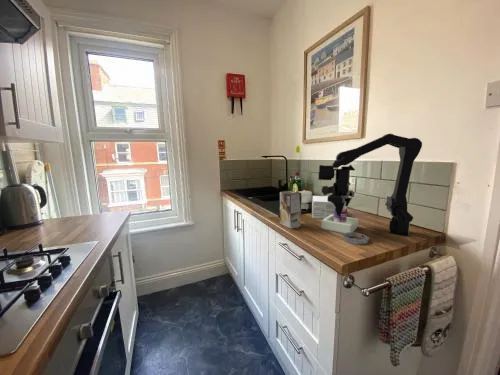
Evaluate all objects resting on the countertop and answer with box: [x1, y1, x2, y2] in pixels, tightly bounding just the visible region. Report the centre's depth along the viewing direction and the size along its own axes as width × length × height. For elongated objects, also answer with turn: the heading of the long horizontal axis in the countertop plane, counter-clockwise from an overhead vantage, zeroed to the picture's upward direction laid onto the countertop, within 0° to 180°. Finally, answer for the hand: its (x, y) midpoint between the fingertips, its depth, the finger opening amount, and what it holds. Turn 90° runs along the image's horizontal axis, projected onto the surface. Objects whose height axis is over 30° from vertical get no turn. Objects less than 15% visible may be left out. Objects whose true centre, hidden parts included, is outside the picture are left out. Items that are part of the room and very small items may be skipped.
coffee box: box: [279, 190, 302, 230], centre depth 104 cm, size 9×6×16 cm
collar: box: [342, 231, 370, 245], centre depth 87 cm, size 9×9×2 cm
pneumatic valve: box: [296, 189, 315, 210], centre depth 134 cm, size 6×12×12 cm, turn 111°
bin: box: [321, 214, 359, 235], centre depth 101 cm, size 12×12×4 cm
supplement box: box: [311, 195, 335, 220], centre depth 122 cm, size 17×13×9 cm
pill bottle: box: [334, 201, 348, 223], centre depth 100 cm, size 5×5×10 cm
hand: (340, 214), depth 100 cm, fingers closed on pill bottle, 5 cm apart
